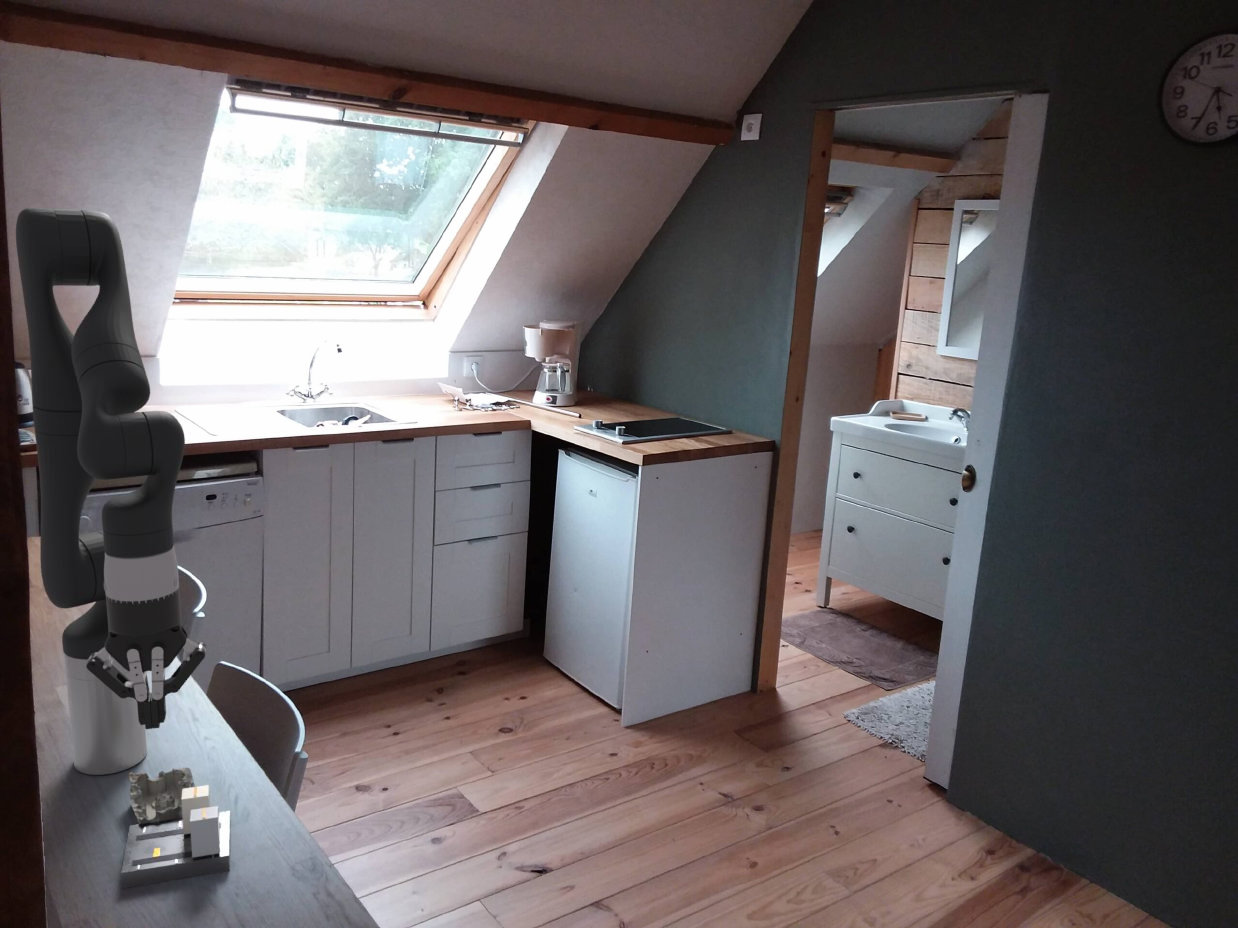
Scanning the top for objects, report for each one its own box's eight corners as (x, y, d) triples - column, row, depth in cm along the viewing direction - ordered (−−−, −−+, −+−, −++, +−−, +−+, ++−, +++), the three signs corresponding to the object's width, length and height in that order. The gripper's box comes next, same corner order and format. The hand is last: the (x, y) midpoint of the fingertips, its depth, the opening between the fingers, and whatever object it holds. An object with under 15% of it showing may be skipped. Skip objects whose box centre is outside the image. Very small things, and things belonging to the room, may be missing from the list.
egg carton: (128, 797, 131) (126, 769, 131) (190, 783, 135) (188, 756, 134) (135, 840, 122) (133, 810, 122) (201, 824, 126) (199, 795, 125)
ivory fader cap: (184, 823, 123) (182, 788, 122) (211, 819, 124) (209, 784, 123) (183, 834, 121) (181, 798, 119) (210, 830, 122) (208, 794, 120)
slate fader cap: (193, 845, 119) (190, 809, 117) (220, 840, 120) (218, 805, 118) (192, 857, 116) (189, 820, 115) (219, 852, 117) (217, 816, 116)
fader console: (131, 839, 123) (129, 824, 122) (230, 824, 127) (229, 809, 126) (122, 887, 114) (121, 872, 114) (229, 869, 118) (228, 854, 118)
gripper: (207, 570, 118) (215, 704, 122) (82, 579, 113) (94, 717, 118) (204, 593, 111) (212, 733, 115) (71, 603, 107) (84, 749, 111)
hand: (152, 725), depth 116 cm, fingers closed
